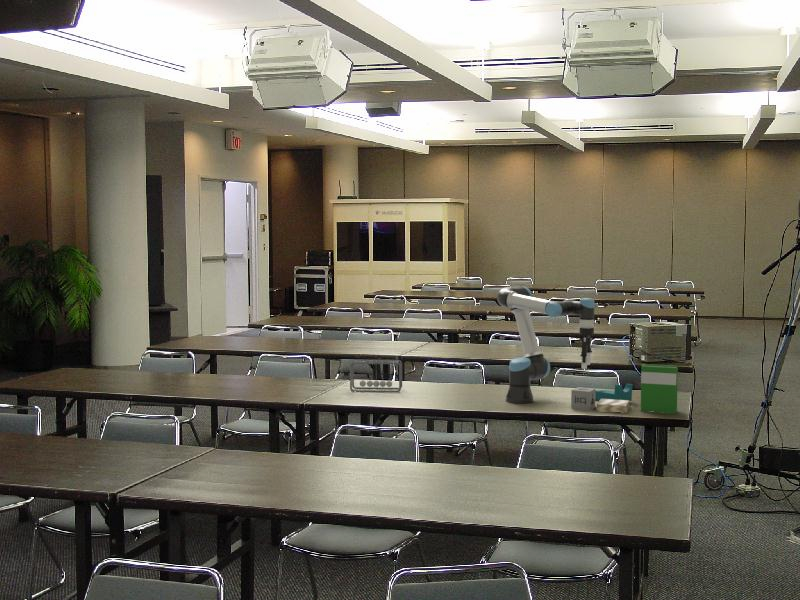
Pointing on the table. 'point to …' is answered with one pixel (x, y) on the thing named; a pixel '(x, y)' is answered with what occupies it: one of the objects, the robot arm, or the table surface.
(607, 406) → the plinth
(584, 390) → the icon cube
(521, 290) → the robot arm
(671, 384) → the green cereal box
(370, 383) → the newton's cradle
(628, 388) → the teal tape dispenser
